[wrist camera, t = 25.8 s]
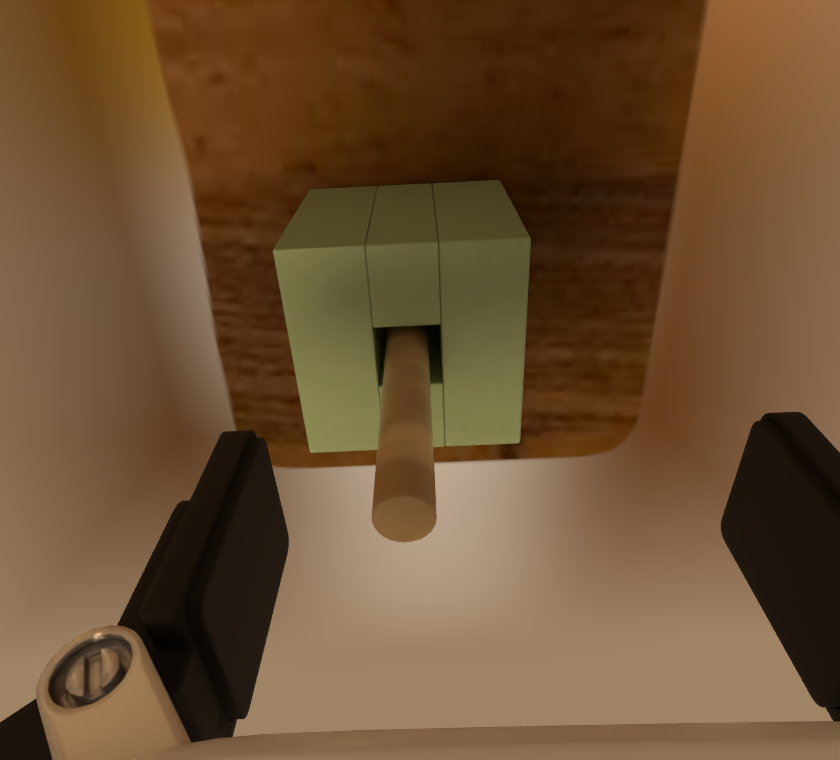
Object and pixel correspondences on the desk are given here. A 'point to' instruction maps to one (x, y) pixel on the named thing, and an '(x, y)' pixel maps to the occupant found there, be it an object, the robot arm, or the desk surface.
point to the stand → (407, 306)
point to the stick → (405, 440)
